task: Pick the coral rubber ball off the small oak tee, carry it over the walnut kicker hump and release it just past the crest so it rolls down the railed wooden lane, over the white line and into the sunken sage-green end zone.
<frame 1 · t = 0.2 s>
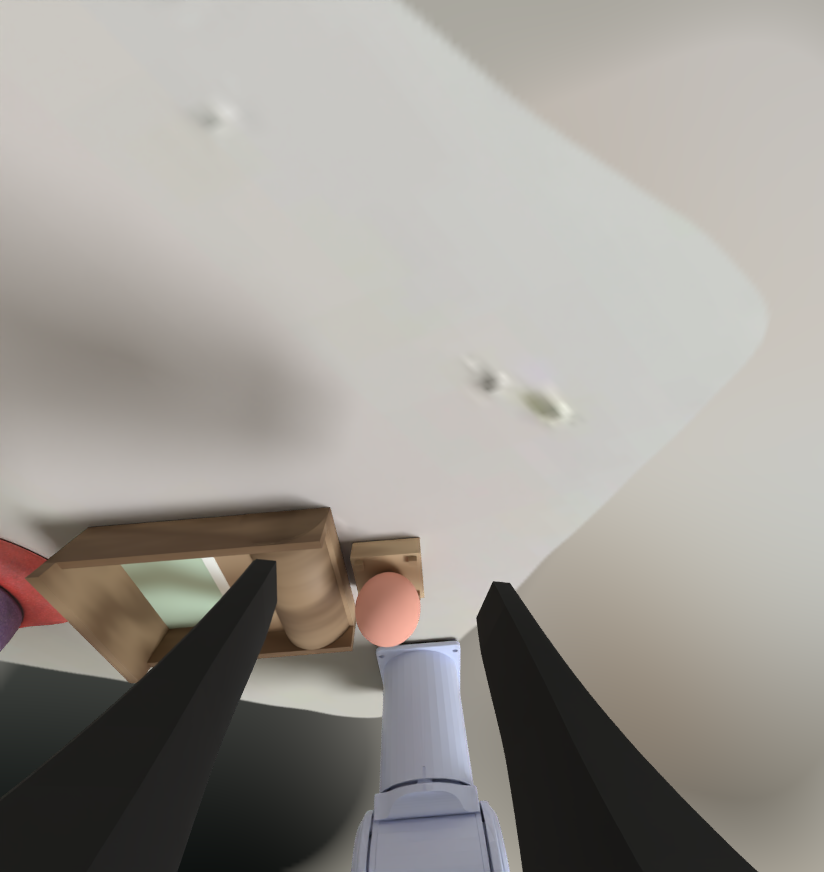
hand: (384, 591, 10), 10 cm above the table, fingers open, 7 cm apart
ball: (388, 607, 20), point 4 cm above the table, touching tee
stacking bear: (0, 573, 23), on the table
runway: (243, 575, 24), on the table
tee: (389, 563, 24), on the table
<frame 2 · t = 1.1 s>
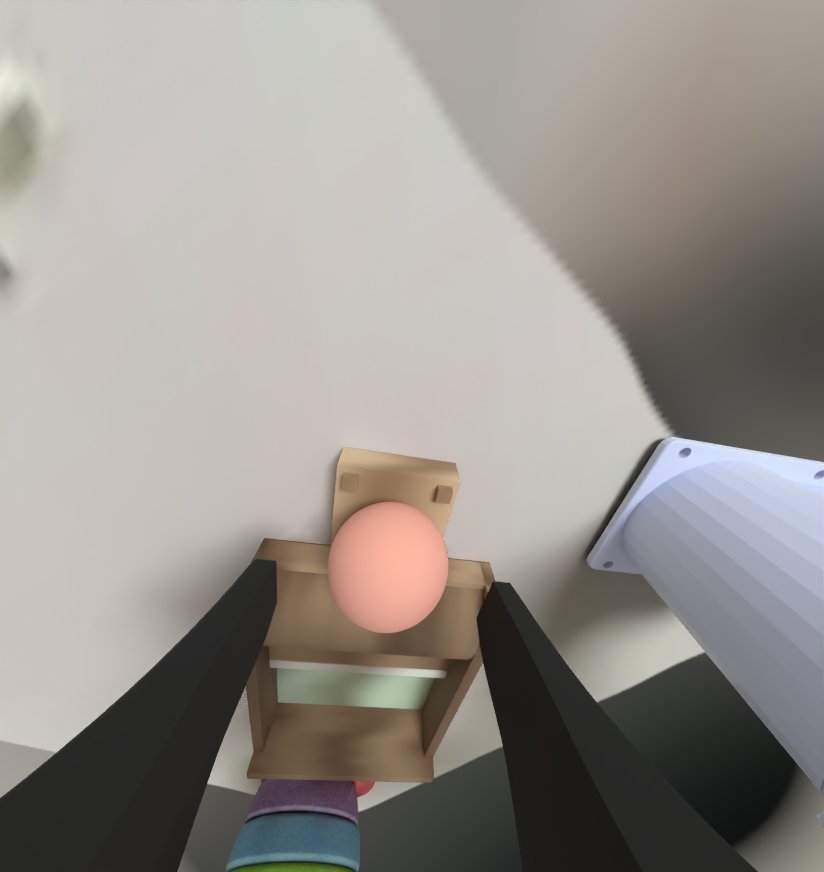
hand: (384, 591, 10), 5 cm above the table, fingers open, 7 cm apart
ball: (388, 562, 11), point 4 cm above the table, touching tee
stacking bear: (320, 748, 27), on the table
runway: (364, 639, 19), on the table
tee: (391, 499, 14), on the table
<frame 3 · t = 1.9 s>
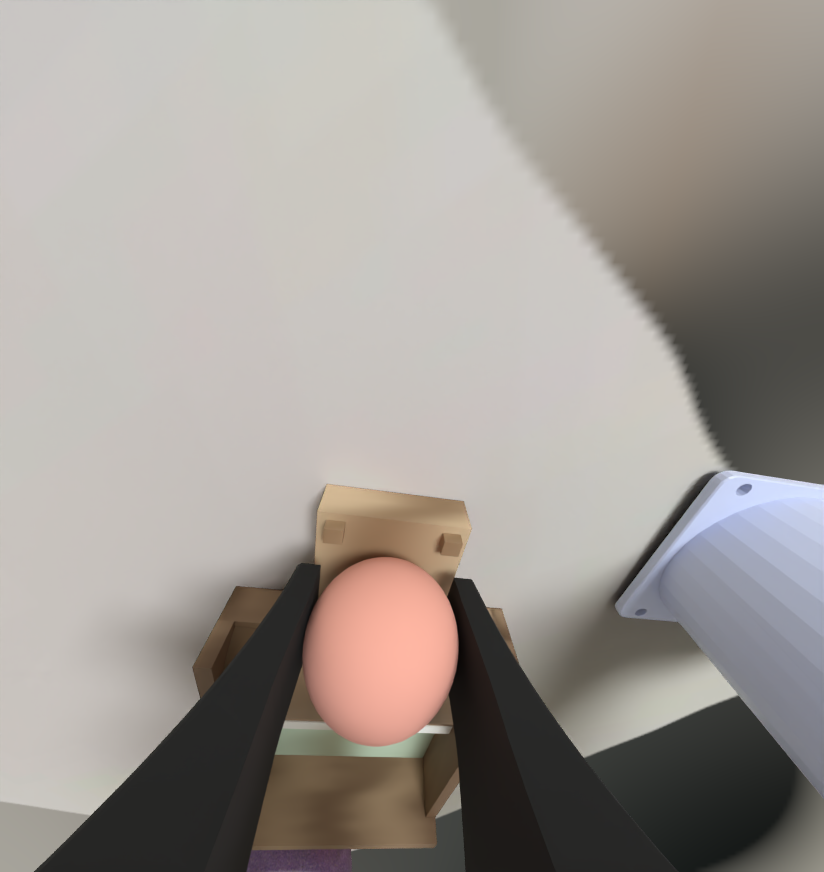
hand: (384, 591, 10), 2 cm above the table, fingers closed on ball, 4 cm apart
ball: (382, 638, 9), point 4 cm above the table, touching gripper, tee
stacking bear: (311, 793, 25), on the table
runway: (357, 688, 17), on the table
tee: (387, 542, 12), on the table
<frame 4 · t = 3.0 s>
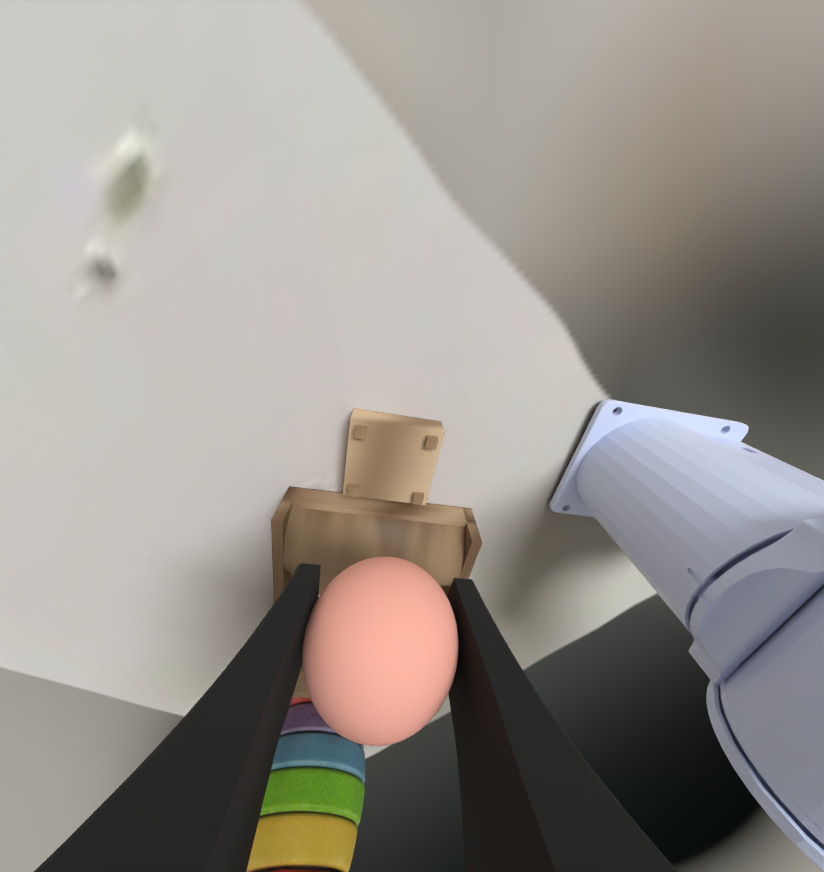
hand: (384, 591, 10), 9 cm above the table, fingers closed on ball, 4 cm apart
ball: (382, 637, 9), point 11 cm above the table, touching gripper
stacking bear: (329, 691, 31), on the table
runway: (369, 579, 23), on the table
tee: (391, 452, 18), on the table
when the fingers open (5 cm above the table, at t = 4.2 s): ball drops 4 cm and tips over, resting on runway.
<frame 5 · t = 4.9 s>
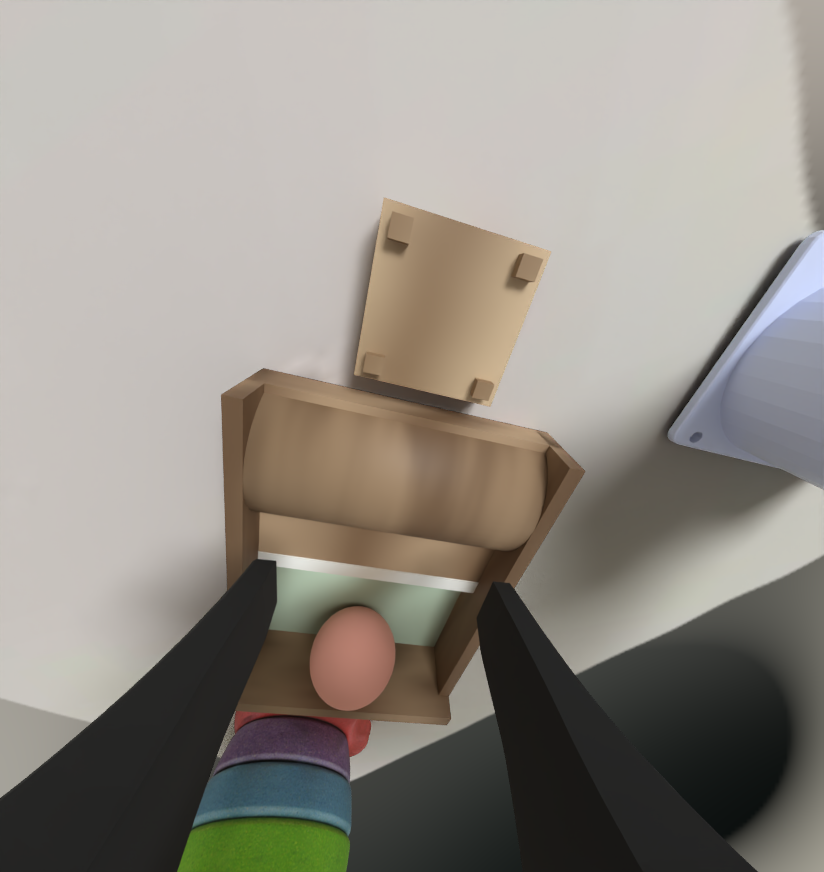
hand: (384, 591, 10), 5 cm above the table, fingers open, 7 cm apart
ball: (353, 654, 16), point 3 cm above the table, tilted 117°, touching runway
stacking bear: (307, 700, 23), on the table
runway: (377, 542, 16), on the table
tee: (439, 313, 11), on the table
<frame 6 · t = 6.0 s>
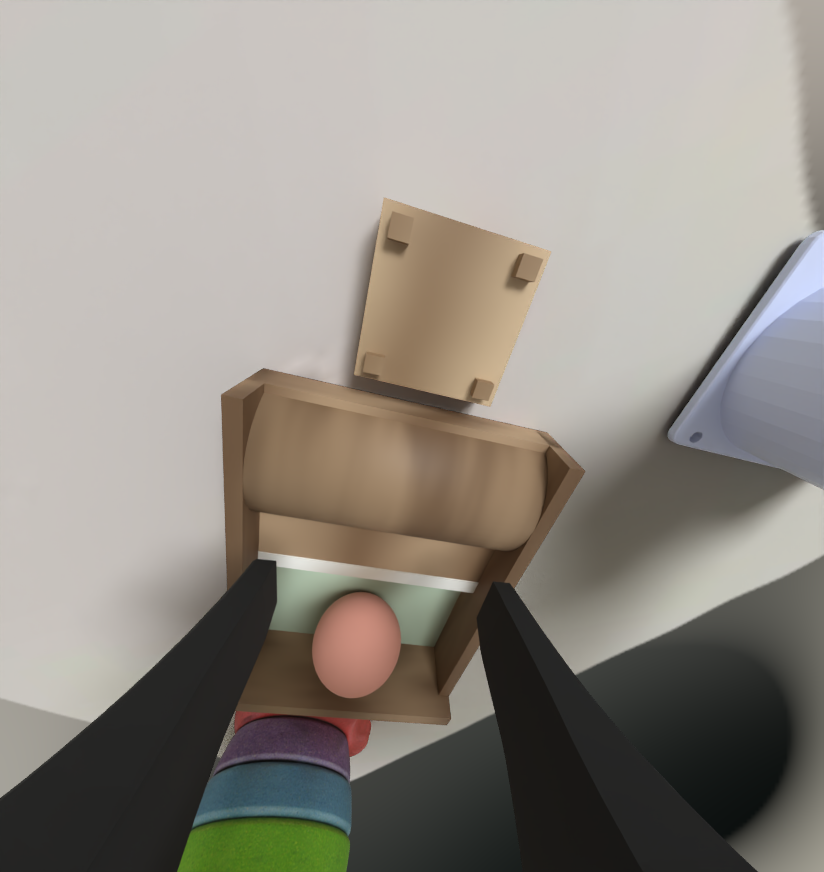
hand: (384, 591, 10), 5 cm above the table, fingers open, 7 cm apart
ball: (357, 640, 15), point 3 cm above the table, tilted 149°, touching runway
stacking bear: (307, 700, 23), on the table
runway: (377, 542, 16), on the table
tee: (439, 313, 11), on the table
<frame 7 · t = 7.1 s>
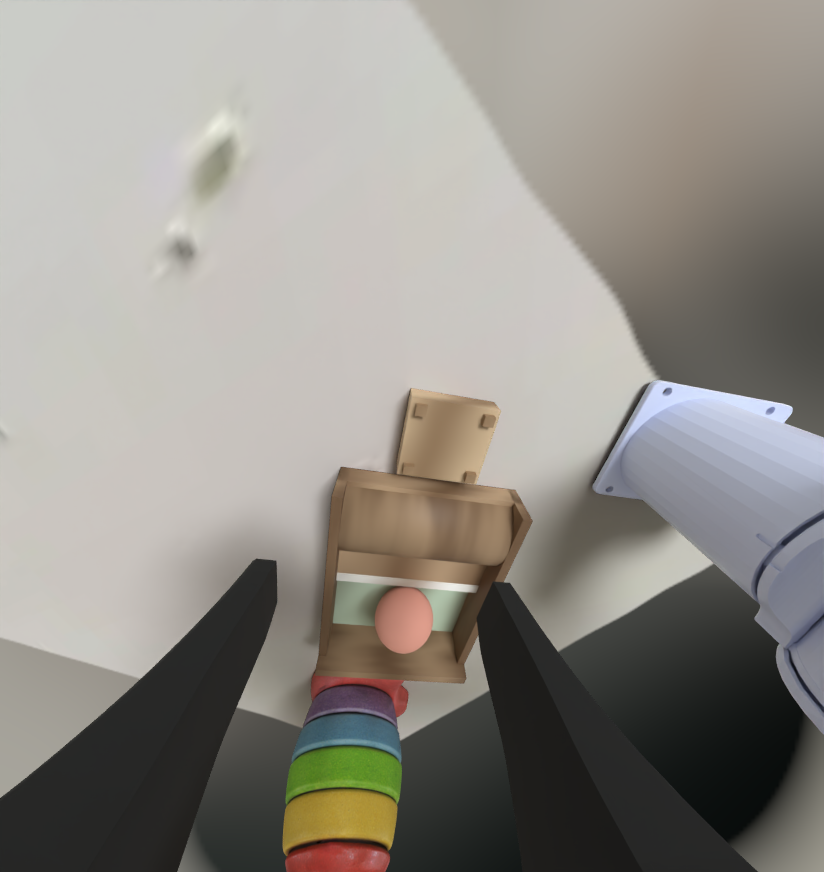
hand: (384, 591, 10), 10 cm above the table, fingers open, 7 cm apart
ball: (404, 617, 23), point 3 cm above the table, tilted 179°, touching runway
stacking bear: (360, 676, 32), on the table
runway: (409, 561, 24), on the table
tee: (443, 433, 19), on the table
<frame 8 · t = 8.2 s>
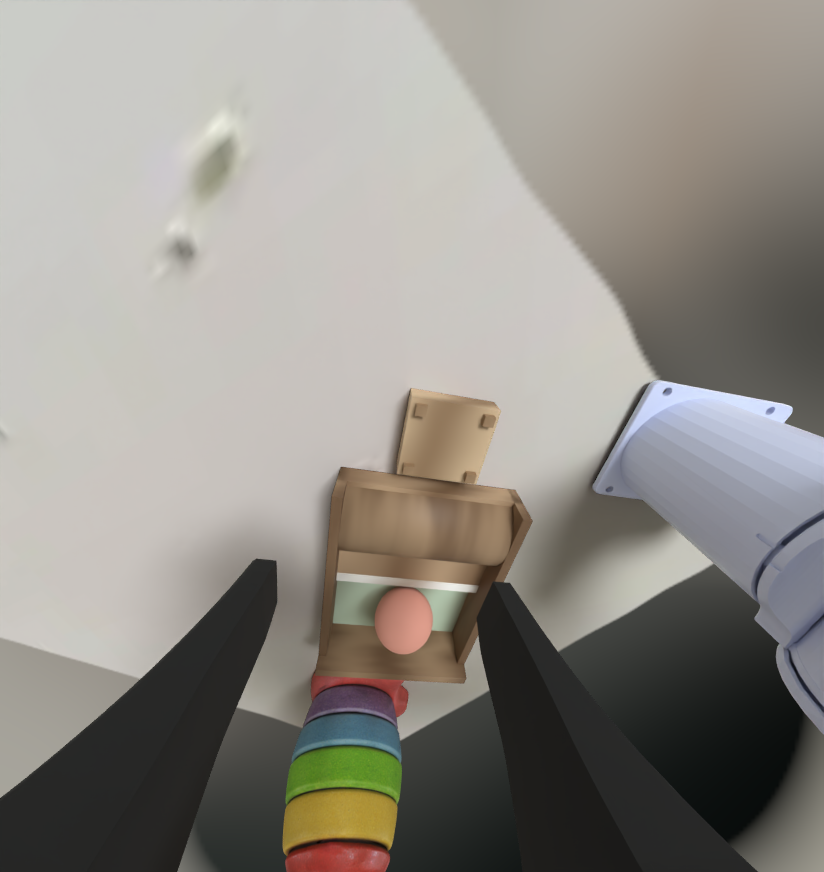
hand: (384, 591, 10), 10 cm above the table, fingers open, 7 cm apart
ball: (403, 618, 23), point 3 cm above the table, tilted 178°, touching runway
stacking bear: (360, 676, 32), on the table
runway: (409, 561, 24), on the table
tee: (443, 433, 19), on the table
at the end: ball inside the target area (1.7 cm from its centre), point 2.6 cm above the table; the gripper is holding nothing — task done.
